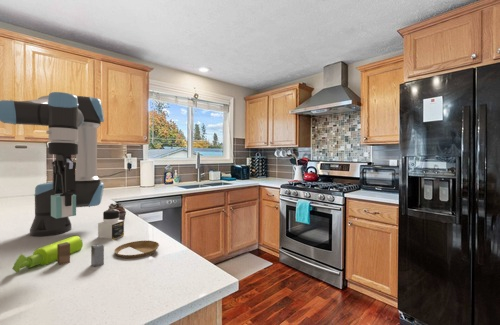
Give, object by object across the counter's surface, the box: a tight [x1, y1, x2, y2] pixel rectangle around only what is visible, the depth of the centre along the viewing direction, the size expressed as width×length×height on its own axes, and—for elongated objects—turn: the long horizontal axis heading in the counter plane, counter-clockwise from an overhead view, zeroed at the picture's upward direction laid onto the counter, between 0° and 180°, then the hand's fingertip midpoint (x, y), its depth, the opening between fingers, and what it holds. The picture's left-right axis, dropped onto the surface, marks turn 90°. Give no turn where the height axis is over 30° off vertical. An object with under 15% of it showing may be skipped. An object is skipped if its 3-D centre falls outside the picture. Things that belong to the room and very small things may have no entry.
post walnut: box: [56, 242, 71, 266], centre depth 78 cm, size 3×3×7 cm
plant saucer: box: [114, 240, 160, 259], centre depth 89 cm, size 15×15×3 cm
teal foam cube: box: [51, 194, 77, 219], centre depth 78 cm, size 5×5×7 cm
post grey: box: [90, 243, 105, 268], centre depth 77 cm, size 3×3×7 cm
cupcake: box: [107, 202, 127, 221], centre depth 133 cm, size 10×10×10 cm
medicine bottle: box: [97, 209, 125, 241], centre depth 106 cm, size 7×7×12 cm
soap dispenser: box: [12, 235, 84, 273], centre depth 80 cm, size 6×7×20 cm
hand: (63, 214), depth 78 cm, fingers closed on teal foam cube, 5 cm apart
